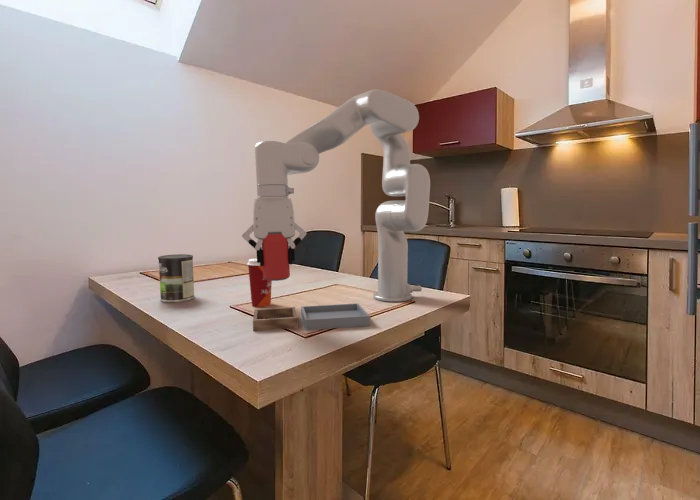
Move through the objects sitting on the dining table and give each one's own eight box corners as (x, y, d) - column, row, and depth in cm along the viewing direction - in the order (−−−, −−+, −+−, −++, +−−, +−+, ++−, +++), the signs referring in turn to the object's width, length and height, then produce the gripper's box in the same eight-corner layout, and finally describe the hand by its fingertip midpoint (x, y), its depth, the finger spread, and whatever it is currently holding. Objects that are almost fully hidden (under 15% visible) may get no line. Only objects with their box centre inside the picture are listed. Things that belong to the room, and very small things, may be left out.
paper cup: (271, 308, 111) (269, 261, 109) (245, 307, 111) (243, 261, 110) (276, 301, 119) (275, 257, 117) (252, 301, 119) (251, 257, 117)
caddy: (295, 315, 102) (294, 307, 102) (297, 327, 92) (297, 317, 92) (255, 318, 100) (254, 309, 100) (253, 330, 90) (252, 320, 90)
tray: (358, 312, 106) (358, 303, 106) (369, 325, 94) (369, 316, 93) (301, 315, 103) (301, 306, 103) (305, 330, 90) (305, 320, 90)
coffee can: (166, 304, 116) (163, 259, 114) (156, 298, 123) (153, 256, 122) (199, 298, 123) (197, 256, 121) (188, 293, 130) (186, 253, 129)
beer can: (258, 280, 94) (255, 232, 92) (273, 275, 100) (270, 230, 98) (281, 281, 91) (278, 232, 90) (294, 276, 97) (292, 230, 96)
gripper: (306, 193, 98) (309, 260, 100) (237, 194, 95) (241, 264, 97) (309, 192, 91) (312, 265, 93) (234, 193, 87) (239, 269, 90)
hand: (276, 264), depth 95 cm, fingers closed on beer can, 6 cm apart
